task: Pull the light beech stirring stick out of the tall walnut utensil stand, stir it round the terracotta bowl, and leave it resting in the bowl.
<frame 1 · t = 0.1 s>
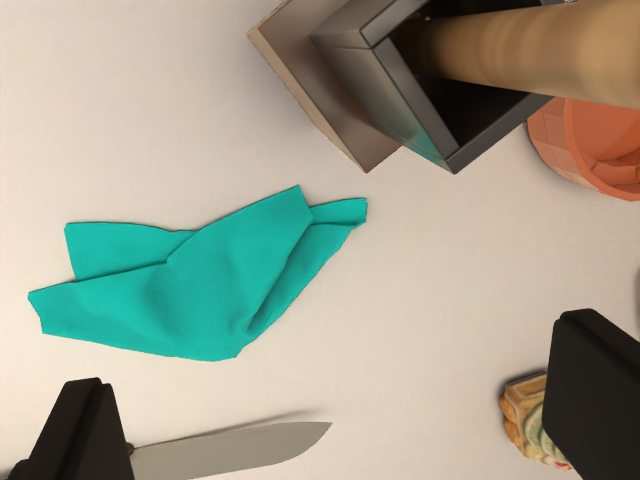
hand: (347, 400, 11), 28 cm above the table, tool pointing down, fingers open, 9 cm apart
cloth: (208, 282, 40), on the table
utensil stand: (328, 45, 35), on the table
ornament: (526, 401, 50), on the table
stick: (387, 47, 22), point 14 cm above the table, touching utensil stand
knife: (160, 443, 45), on the table
bowl: (612, 86, 40), on the table
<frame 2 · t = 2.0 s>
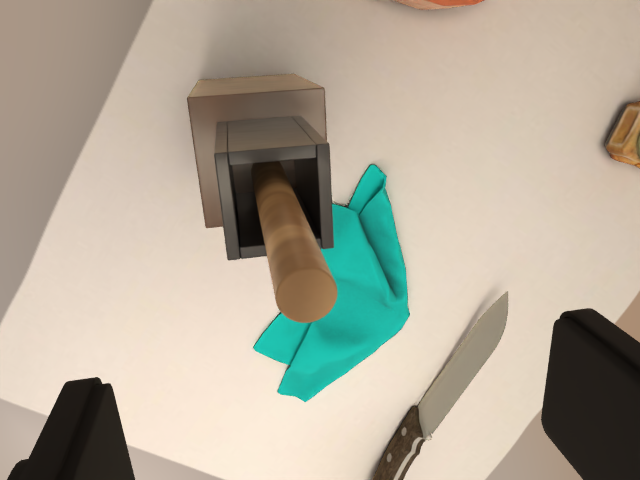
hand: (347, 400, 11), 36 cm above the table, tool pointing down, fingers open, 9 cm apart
cloth: (348, 296, 52), on the table
utensil stand: (252, 125, 44), on the table
ornament: (637, 134, 51), on the table
stick: (263, 160, 31), point 14 cm above the table, touching utensil stand
knife: (427, 391, 58), on the table
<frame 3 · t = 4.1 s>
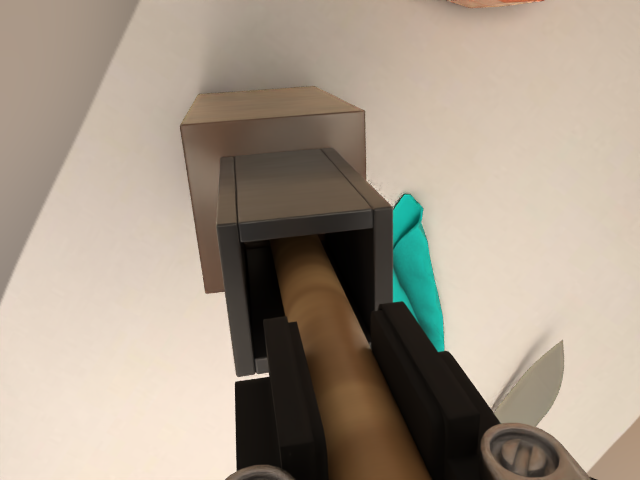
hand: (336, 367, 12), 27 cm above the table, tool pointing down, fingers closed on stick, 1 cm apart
cloth: (374, 346, 44), on the table
utensil stand: (262, 148, 36), on the table
stick: (282, 206, 23), point 14 cm above the table, touching gripper, utensil stand
knife: (463, 450, 50), on the table
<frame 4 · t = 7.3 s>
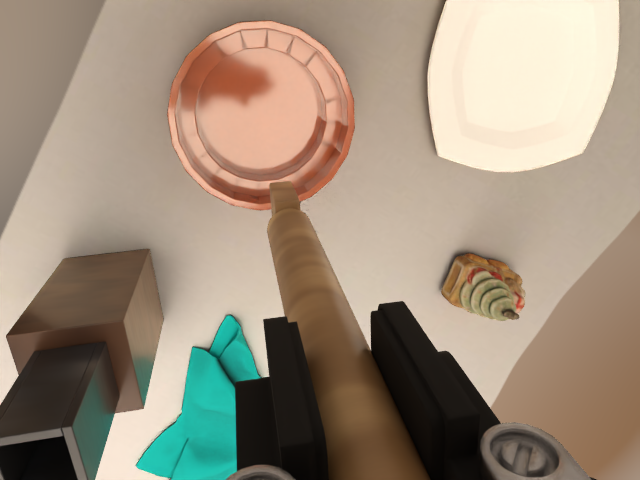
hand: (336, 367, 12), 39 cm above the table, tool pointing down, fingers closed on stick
cloth: (220, 419, 59), on the table
utensil stand: (115, 290, 51), on the table
ornament: (472, 277, 58), on the table
plate: (513, 70, 50), on the table
stick: (282, 207, 23), point 26 cm above the table, touching gripper
bowl: (260, 113, 47), on the table
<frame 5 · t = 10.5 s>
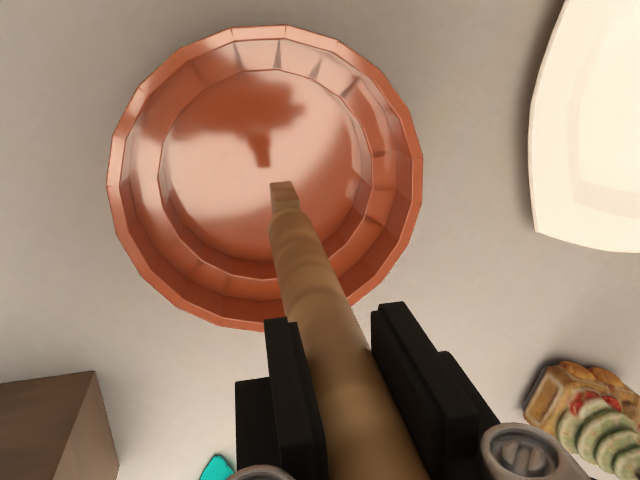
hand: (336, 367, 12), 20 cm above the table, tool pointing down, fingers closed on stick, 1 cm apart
utensil stand: (44, 430, 33), on the table
ornament: (564, 389, 40), on the table
stick: (282, 207, 23), point 7 cm above the table, touching gripper
bowl: (265, 169, 30), on the table
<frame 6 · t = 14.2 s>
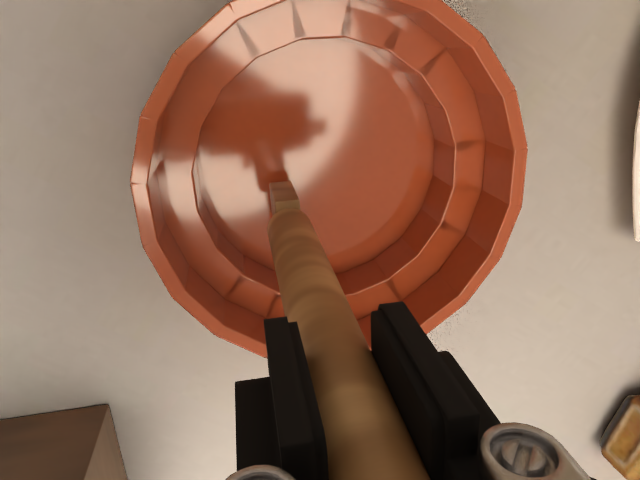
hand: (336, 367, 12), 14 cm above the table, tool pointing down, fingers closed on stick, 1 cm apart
utensil stand: (48, 472, 28), on the table
stick: (282, 206, 23), point 2 cm above the table, touching gripper
bowl: (317, 163, 25), on the table
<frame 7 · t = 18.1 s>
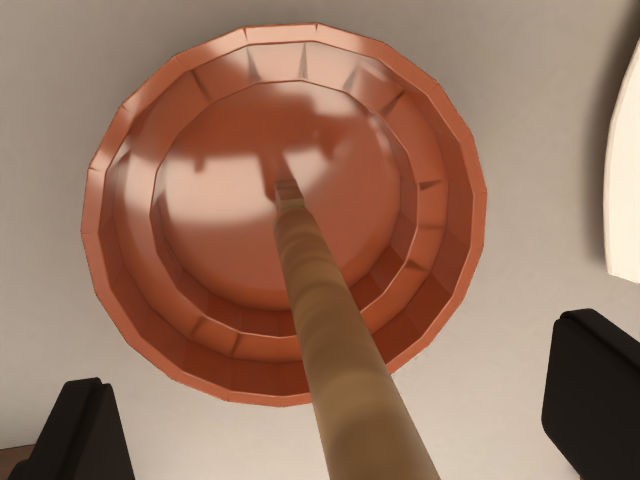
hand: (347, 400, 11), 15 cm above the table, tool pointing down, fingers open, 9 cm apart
stick: (286, 205, 24), point 1 cm above the table, touching bowl
bowl: (283, 200, 24), on the table
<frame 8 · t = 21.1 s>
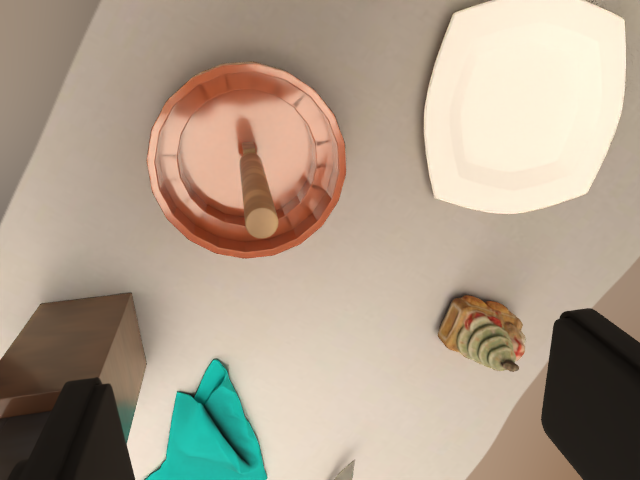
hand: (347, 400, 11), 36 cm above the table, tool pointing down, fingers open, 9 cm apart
cloth: (207, 464, 56), on the table
utensil stand: (96, 335, 48), on the table
ornament: (470, 318, 55), on the table
plate: (514, 108, 47), on the table
stick: (249, 155, 44), point 1 cm above the table, touching bowl
bowl: (247, 153, 45), on the table
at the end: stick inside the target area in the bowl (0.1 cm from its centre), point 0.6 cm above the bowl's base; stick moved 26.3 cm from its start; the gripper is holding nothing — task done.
